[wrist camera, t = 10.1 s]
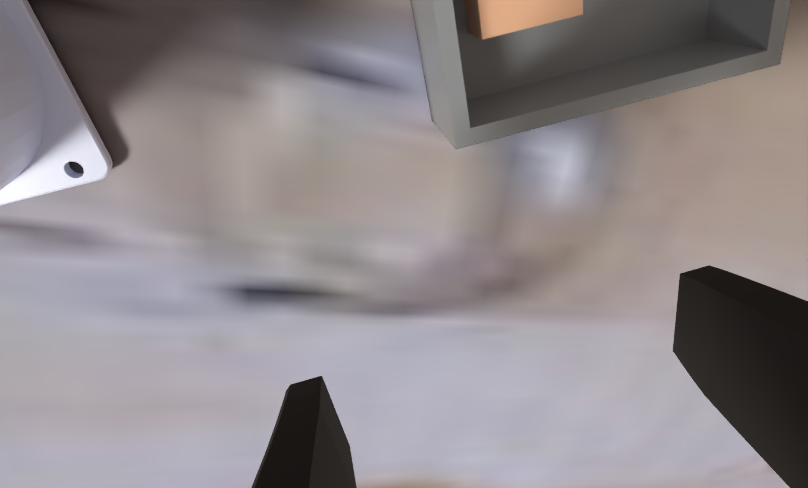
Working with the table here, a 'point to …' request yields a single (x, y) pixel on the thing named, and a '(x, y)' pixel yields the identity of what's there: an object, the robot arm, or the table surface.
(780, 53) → the storage box
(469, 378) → the table surface
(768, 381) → the robot arm
